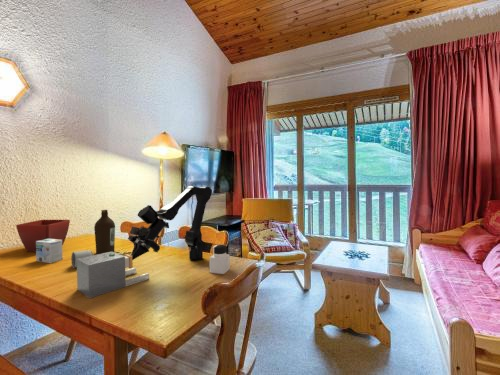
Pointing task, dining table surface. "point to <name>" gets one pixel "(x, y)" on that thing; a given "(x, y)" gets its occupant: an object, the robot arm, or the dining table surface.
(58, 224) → the plant pot
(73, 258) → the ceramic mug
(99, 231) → the olive oil
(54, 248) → the light bulb box
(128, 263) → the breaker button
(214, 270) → the medicine bottle
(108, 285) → the box
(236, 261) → the dining table surface
